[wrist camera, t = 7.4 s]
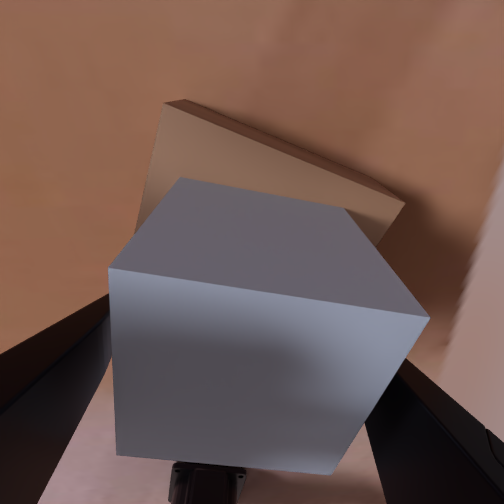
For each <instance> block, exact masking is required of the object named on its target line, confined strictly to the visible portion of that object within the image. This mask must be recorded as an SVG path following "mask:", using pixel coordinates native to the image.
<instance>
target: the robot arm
mask: <svg viewBox="0 0 504 504" xmlns="http://www.w3.org/2000/svg"><path fill="white" fill-rule="evenodd" d="M111 357H112V344H111V322H110V300H109V294H106V295H105V296H103V297H101V298H99V299H98V300H96V301H94V302H92V303H91V304H89V305H87V306H85V307H83V308H82V309H80V310H78V311H76V312H75V313H73V314H71V315H69V316H67V317H66V318H64V319H62V320H60V321H59V322H57V323H55V324H53V325H51V326H50V327H48V328H46V329H44V330H43V331H41V332H39V333H37V334H35V335H34V336H32V337H30V338H28V339H27V340H25V341H23V342H21V343H19V344H18V345H16V346H14V347H12V348H11V349H9V350H7V351H5V352H3V353H2V354H0V504H37V503H38V501H39V499H40V497H41V495H42V493H43V491H44V490H45V488H46V486H47V484H48V482H49V480H50V478H51V476H52V474H53V472H54V470H55V468H56V467H57V465H58V463H59V461H60V459H61V457H62V455H63V453H64V451H65V449H66V447H67V445H68V444H69V442H70V440H71V438H72V436H73V434H74V432H75V430H76V428H77V426H78V424H79V422H80V420H81V419H82V417H83V415H84V413H85V411H86V409H87V407H88V405H89V403H90V401H91V399H92V397H93V396H94V394H95V392H96V390H97V388H98V386H99V384H100V382H101V380H102V378H103V376H104V374H105V372H106V369H107V367H108V364H109V362H110V359H111ZM364 423H365V426H366V430H367V433H368V437H369V441H370V444H371V448H372V452H373V455H374V459H375V463H376V466H377V470H378V474H379V477H380V481H381V484H382V488H383V492H384V495H385V499H386V503H387V504H504V442H502V441H501V440H500V439H499V438H498V437H497V436H496V435H494V434H493V433H492V432H491V431H490V430H488V429H485V426H484V425H483V424H481V423H480V422H479V421H478V420H477V419H476V418H475V417H473V416H472V415H471V414H470V413H469V412H468V411H466V410H465V409H464V408H463V407H462V406H461V405H459V404H458V403H457V402H456V401H455V400H454V399H453V398H451V397H450V396H449V395H448V394H447V393H445V392H444V391H443V390H442V389H441V388H440V387H439V386H437V385H436V384H435V383H434V382H433V381H432V380H431V379H429V378H428V377H427V376H426V375H425V374H424V373H422V372H421V371H420V370H419V369H418V368H417V367H415V366H414V365H413V364H412V363H411V362H410V361H408V360H407V359H406V358H405V359H404V361H403V362H402V364H401V365H400V367H399V369H398V370H397V372H396V373H395V375H394V376H393V378H392V380H391V381H390V383H389V384H388V386H387V388H386V389H385V391H384V392H383V394H382V395H381V397H380V399H379V400H378V402H377V403H376V405H375V406H374V408H373V410H372V411H371V413H370V414H369V416H368V418H367V419H366V421H365V422H364ZM245 480H246V470H245V469H240V468H229V467H219V466H208V465H197V464H187V463H174V464H173V467H172V472H171V481H170V489H169V497H168V501H169V502H171V504H237V502H238V499H239V496H240V494H241V491H242V488H243V485H244V483H245Z"/></svg>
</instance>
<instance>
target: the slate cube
mask: <svg viewBox="0 0 504 504" xmlns="http://www.w3.org/2000/svg"><path fill="white" fill-rule="evenodd" d="M108 277H109V300H110V322H111V344H112V366H113V388H114V410H115V432H116V454H117V455H120V456H130V457H141V458H151V459H162V460H173V461H183V462H194V463H205V464H215V465H226V466H237V467H247V468H258V469H268V470H279V471H290V472H300V473H311V474H322V475H331V474H332V473H333V471H334V470H335V468H336V467H337V465H338V463H339V462H340V460H341V459H342V457H343V455H344V454H345V452H346V451H347V449H348V448H349V446H350V444H351V443H352V441H353V440H354V438H355V437H356V435H357V433H358V432H359V430H360V429H361V427H362V425H363V424H364V422H365V421H366V419H367V418H368V416H369V414H370V413H371V411H372V410H373V408H374V406H375V405H376V403H377V402H378V400H379V399H380V397H381V395H382V394H383V392H384V391H385V389H386V388H387V386H388V384H389V383H390V381H391V380H392V378H393V376H394V375H395V373H396V372H397V370H398V369H399V367H400V365H401V364H402V362H403V361H404V359H405V357H406V356H407V354H408V353H409V351H410V350H411V348H412V346H413V345H414V343H415V342H416V340H417V339H418V337H419V335H420V334H421V332H422V331H423V329H424V327H425V326H426V324H427V323H428V321H429V320H430V316H429V315H428V314H427V313H426V311H425V310H424V309H423V307H422V306H421V305H420V304H419V302H418V301H417V300H416V299H415V297H414V296H413V295H412V294H411V292H410V291H409V290H408V289H407V287H406V286H405V285H404V283H403V282H402V281H401V280H400V278H399V277H398V276H397V275H396V273H395V272H394V271H393V270H392V268H391V267H390V266H389V265H388V263H387V262H386V261H385V259H384V258H383V257H382V256H381V254H380V253H379V252H378V251H377V249H376V248H375V247H374V246H373V244H372V243H371V242H370V241H369V239H368V238H367V237H366V235H365V234H364V233H363V232H362V230H361V229H360V228H359V227H358V225H357V224H356V223H355V222H354V220H353V219H352V218H351V217H350V215H349V214H348V213H347V212H346V210H345V209H344V208H342V207H337V206H331V205H326V204H321V203H315V202H310V201H305V200H300V199H294V198H289V197H284V196H278V195H273V194H268V193H263V192H257V191H252V190H247V189H241V188H236V187H231V186H226V185H220V184H215V183H210V182H204V181H199V180H194V179H188V178H183V177H179V179H178V180H177V181H176V183H175V184H174V185H173V186H172V188H171V189H170V190H169V191H168V193H167V194H166V195H165V196H164V198H163V199H162V200H161V201H160V203H159V204H158V205H157V207H156V208H155V209H154V210H153V212H152V213H151V214H150V215H149V217H148V218H147V219H146V220H145V222H144V223H143V224H142V225H141V227H140V228H139V229H138V231H137V232H136V233H135V234H134V236H133V237H132V238H131V239H130V241H129V242H128V243H127V244H126V246H125V247H124V248H123V250H122V251H121V252H120V253H119V255H118V256H117V257H116V258H115V260H114V261H113V262H112V263H111V265H110V266H109V267H108Z"/></svg>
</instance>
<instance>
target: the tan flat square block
mask: <svg viewBox="0 0 504 504" xmlns="http://www.w3.org/2000/svg"><path fill="white" fill-rule="evenodd" d="M179 177H183V178H188V179H194V180H199V181H204V182H210V183H215V184H220V185H226V186H231V187H236V188H241V189H247V190H252V191H257V192H263V193H268V194H273V195H278V196H284V197H289V198H294V199H300V200H305V201H310V202H315V203H321V204H326V205H331V206H337V207H342V208H344V209H345V210H346V212H347V213H348V214H349V215H350V217H351V218H352V219H353V220H354V222H355V223H356V224H357V225H358V227H359V228H360V229H361V230H362V232H363V233H364V234H365V235H366V237H367V238H368V239H369V241H370V242H371V243H372V244H373V246H374V247H375V248H376V246H377V245H378V243H379V242H380V240H381V239H382V237H383V236H384V234H385V233H386V231H387V230H388V228H389V227H390V225H391V224H392V222H393V221H394V219H395V218H396V216H397V215H398V214H399V212H400V211H401V209H402V208H403V206H404V205H405V202H403V201H402V200H401V199H399V198H398V197H397V196H395V195H394V194H392V193H391V192H390V191H388V190H387V189H386V188H384V187H383V186H382V185H380V184H379V183H378V182H376V181H375V180H374V179H372V178H371V177H368V176H366V175H363V174H361V173H359V172H356V171H354V170H352V169H349V168H347V167H345V166H342V165H340V164H337V163H335V162H333V161H330V160H328V159H326V158H323V157H321V156H318V155H316V154H314V153H311V152H309V151H307V150H304V149H302V148H299V147H297V146H295V145H292V144H290V143H288V142H285V141H283V140H280V139H278V138H276V137H273V136H271V135H269V134H266V133H264V132H261V131H259V130H257V129H254V128H252V127H250V126H247V125H245V124H243V123H240V122H238V121H235V120H233V119H231V118H228V117H226V116H224V115H221V114H219V113H216V112H214V111H212V110H209V109H207V108H205V107H202V106H200V105H197V104H195V103H193V102H190V101H188V100H186V99H183V100H178V101H172V102H166V103H163V106H162V111H161V115H160V120H159V124H158V129H157V133H156V138H155V143H154V147H153V152H152V156H151V161H150V165H149V170H148V174H147V179H146V183H145V188H144V192H143V197H142V202H141V206H140V211H139V215H138V220H137V224H136V229H135V233H136V232H137V231H138V229H139V228H140V227H141V225H142V224H143V223H144V222H145V220H146V219H147V218H148V217H149V215H150V214H151V213H152V212H153V210H154V209H155V208H156V207H157V205H158V204H159V203H160V201H161V200H162V199H163V198H164V196H165V195H166V194H167V193H168V191H169V190H170V189H171V188H172V186H173V185H174V184H175V183H176V181H177V180H178V179H179ZM135 233H134V234H135Z"/></svg>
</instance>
